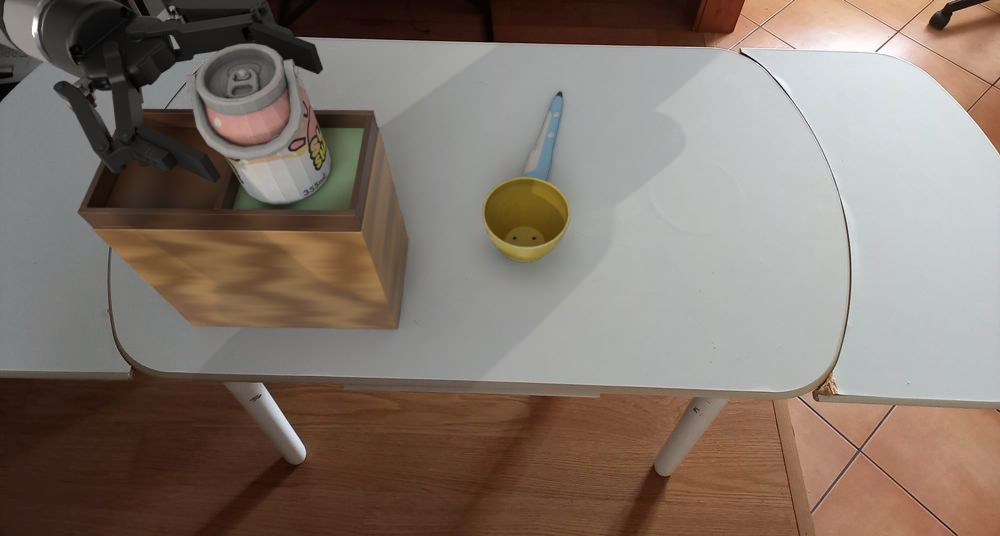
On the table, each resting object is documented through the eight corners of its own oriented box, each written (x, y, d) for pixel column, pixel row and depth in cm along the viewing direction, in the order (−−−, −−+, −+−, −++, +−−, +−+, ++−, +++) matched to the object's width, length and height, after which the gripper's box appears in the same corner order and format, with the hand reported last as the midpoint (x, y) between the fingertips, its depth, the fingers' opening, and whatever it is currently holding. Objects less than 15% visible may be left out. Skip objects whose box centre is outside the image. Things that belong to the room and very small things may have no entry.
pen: (541, 200, 80) (542, 187, 77) (517, 196, 80) (517, 182, 78) (569, 96, 89) (571, 81, 87) (548, 93, 90) (549, 78, 87)
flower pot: (564, 211, 79) (568, 176, 73) (567, 280, 74) (572, 248, 68) (485, 211, 79) (483, 176, 73) (483, 280, 74) (481, 248, 68)
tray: (93, 228, 54) (76, 212, 52) (137, 125, 60) (124, 108, 58) (360, 231, 54) (354, 215, 52) (378, 127, 60) (373, 109, 58)
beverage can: (339, 211, 54) (298, 112, 44) (242, 228, 53) (177, 131, 43) (332, 134, 59) (294, 28, 48) (242, 148, 58) (184, 44, 48)
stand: (192, 326, 71) (91, 229, 54) (219, 237, 78) (137, 125, 60) (398, 329, 71) (362, 232, 54) (408, 239, 77) (379, 127, 60)
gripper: (194, -9, 64) (362, 54, 59) (-4, 155, 53) (182, 250, 48) (158, -80, 58) (344, -17, 52) (-75, 90, 47) (130, 191, 41)
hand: (267, 111), depth 50 cm, fingers open, 13 cm apart
